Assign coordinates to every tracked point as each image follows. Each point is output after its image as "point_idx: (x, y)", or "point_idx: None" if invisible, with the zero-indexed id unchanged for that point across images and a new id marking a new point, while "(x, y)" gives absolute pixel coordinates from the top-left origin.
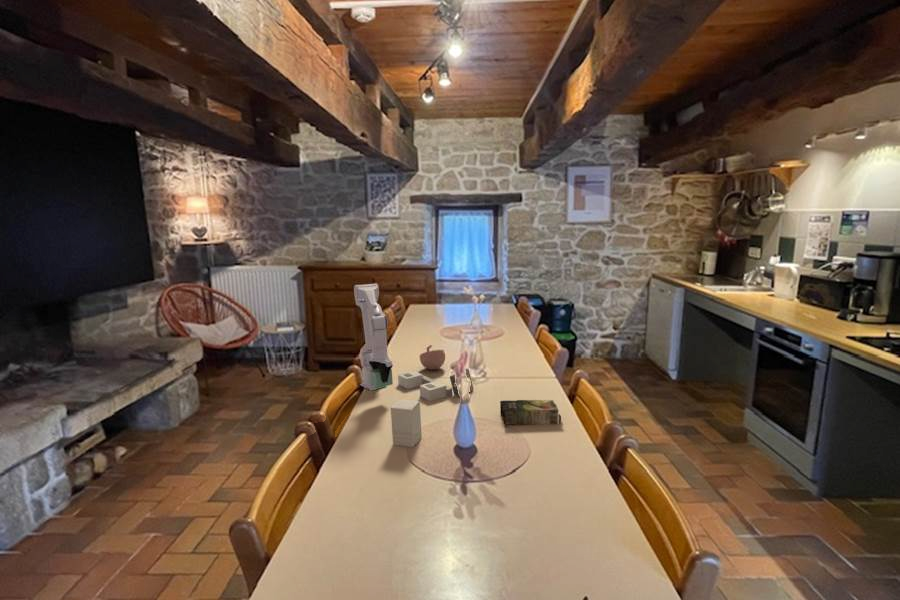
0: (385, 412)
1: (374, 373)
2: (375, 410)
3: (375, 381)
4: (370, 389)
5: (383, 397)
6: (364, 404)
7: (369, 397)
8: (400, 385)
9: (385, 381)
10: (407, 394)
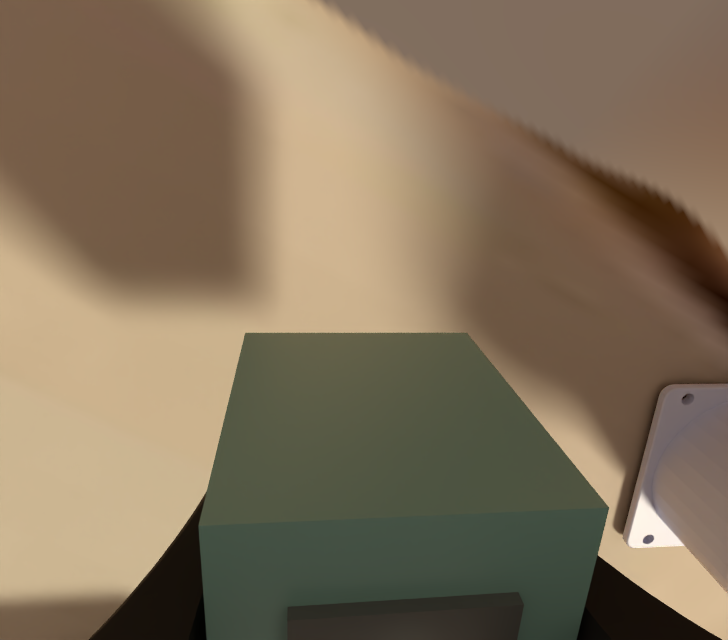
0: (35, 232)
1: (287, 509)
2: (160, 172)
3: (266, 389)
4: (676, 396)
5: None
6: (407, 162)
7: (534, 301)
8: None
9: None
10: None
